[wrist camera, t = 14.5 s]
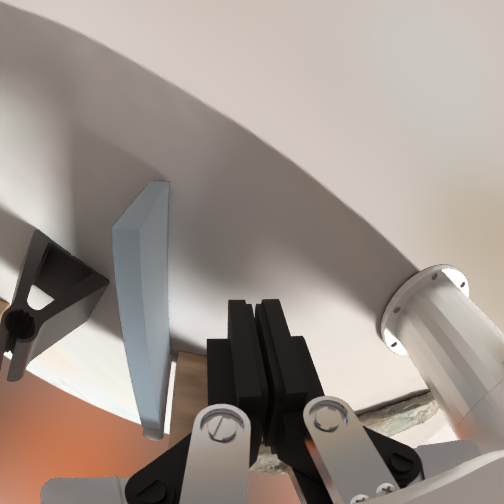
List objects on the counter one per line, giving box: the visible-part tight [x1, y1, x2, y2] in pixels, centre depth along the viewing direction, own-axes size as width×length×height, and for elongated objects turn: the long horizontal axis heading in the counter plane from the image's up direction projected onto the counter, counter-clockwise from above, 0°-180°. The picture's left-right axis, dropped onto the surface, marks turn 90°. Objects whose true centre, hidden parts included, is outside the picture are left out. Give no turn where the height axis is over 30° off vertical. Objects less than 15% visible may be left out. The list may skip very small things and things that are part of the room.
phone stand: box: [0, 230, 109, 382], centre depth 21 cm, size 9×6×12 cm, turn 49°
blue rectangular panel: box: [111, 181, 172, 440], centre depth 23 cm, size 20×2×10 cm, turn 173°
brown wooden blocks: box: [0, 300, 208, 450], centre depth 23 cm, size 35×2×16 cm, turn 73°
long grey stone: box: [249, 391, 440, 475], centre depth 42 cm, size 35×5×10 cm
